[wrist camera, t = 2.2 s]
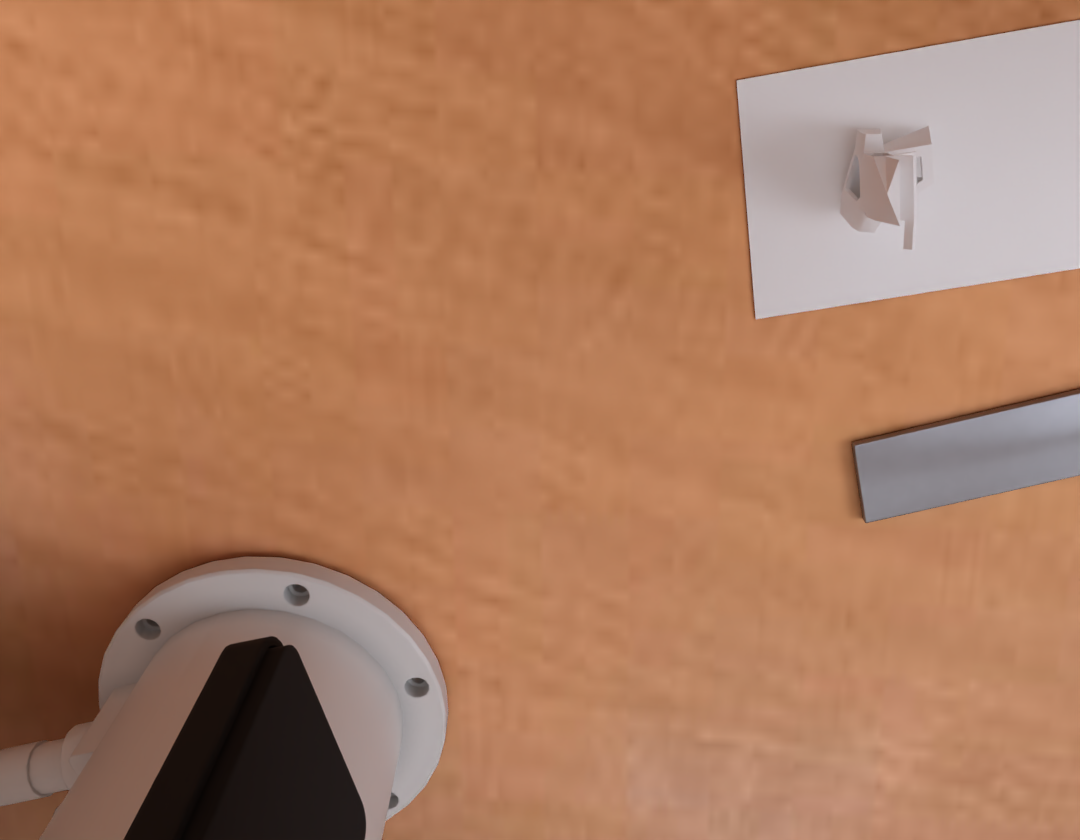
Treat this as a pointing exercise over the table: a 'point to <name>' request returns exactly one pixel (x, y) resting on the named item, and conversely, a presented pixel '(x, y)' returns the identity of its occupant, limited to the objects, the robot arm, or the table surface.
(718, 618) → the table surface
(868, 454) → the steel ruler
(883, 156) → the adhesive hook
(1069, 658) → the table surface
